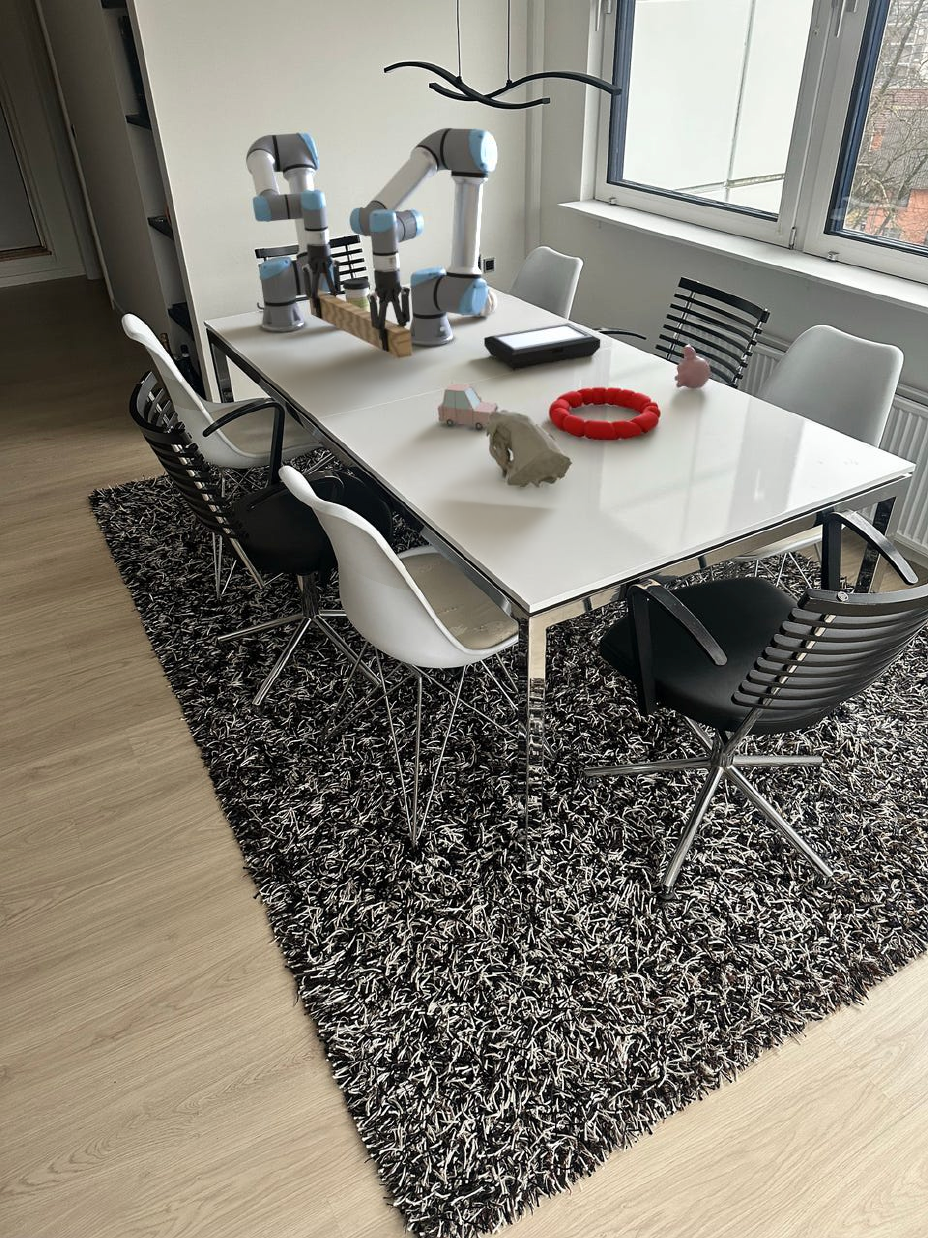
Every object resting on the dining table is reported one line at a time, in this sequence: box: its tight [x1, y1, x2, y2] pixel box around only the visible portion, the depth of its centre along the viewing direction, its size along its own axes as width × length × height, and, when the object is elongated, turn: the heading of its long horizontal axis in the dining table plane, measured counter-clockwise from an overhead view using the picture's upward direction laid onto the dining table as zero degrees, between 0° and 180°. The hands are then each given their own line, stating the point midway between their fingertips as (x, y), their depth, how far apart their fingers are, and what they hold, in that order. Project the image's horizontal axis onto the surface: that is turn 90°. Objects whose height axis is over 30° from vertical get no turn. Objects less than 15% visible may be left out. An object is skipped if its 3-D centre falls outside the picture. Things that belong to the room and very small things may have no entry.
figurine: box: [674, 344, 711, 390], centre depth 259 cm, size 9×11×12 cm
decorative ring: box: [548, 386, 661, 442], centre depth 242 cm, size 7×30×30 cm
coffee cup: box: [342, 277, 371, 312], centre depth 323 cm, size 10×10×15 cm
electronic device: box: [483, 322, 601, 371], centre depth 289 cm, size 32×6×20 cm
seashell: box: [472, 288, 498, 318], centre depth 327 cm, size 10×15×10 cm
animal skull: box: [485, 409, 573, 489], centre depth 216 cm, size 17×25×20 cm
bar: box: [308, 290, 413, 359], centre depth 284 cm, size 59×4×7 cm, turn 34°
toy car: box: [437, 382, 499, 431], centre depth 243 cm, size 9×15×10 cm, turn 70°
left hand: (326, 315), depth 302 cm, fingers closed on bar, 5 cm apart
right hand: (393, 348), depth 271 cm, fingers closed on bar, 5 cm apart
